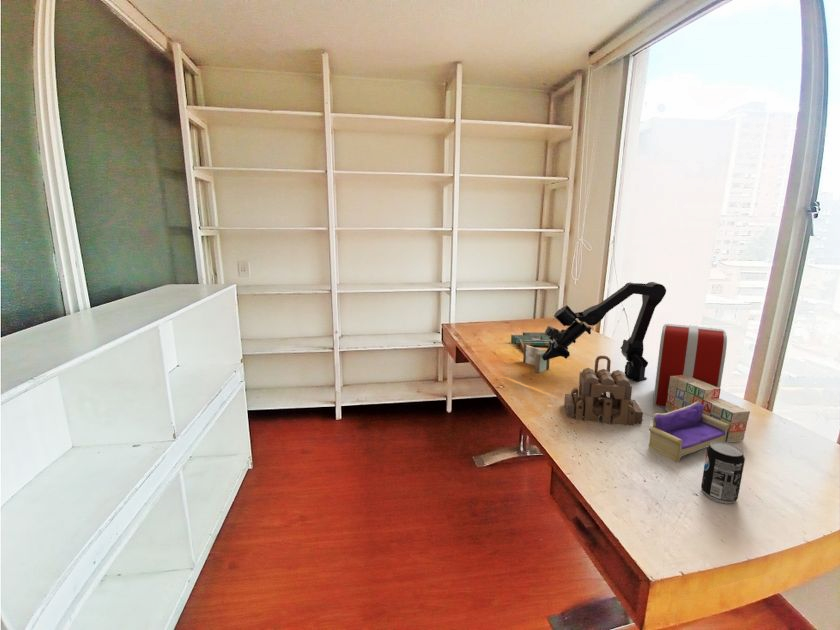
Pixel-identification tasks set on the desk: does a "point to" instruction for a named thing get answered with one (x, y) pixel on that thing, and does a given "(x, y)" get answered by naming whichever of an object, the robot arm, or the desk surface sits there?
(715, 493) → the beverage can
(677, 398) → the stack of blocks
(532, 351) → the fence section
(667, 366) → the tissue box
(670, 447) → the toy sofa
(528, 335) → the miniature gate
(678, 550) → the desk surface
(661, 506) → the desk surface
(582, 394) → the wooden puzzle
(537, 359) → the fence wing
